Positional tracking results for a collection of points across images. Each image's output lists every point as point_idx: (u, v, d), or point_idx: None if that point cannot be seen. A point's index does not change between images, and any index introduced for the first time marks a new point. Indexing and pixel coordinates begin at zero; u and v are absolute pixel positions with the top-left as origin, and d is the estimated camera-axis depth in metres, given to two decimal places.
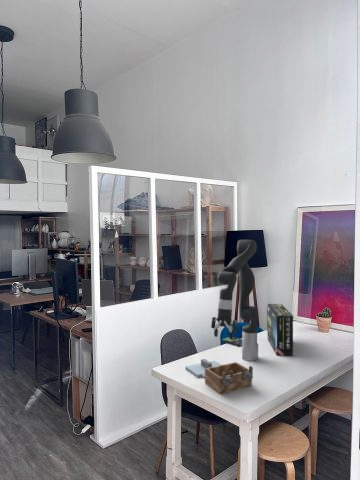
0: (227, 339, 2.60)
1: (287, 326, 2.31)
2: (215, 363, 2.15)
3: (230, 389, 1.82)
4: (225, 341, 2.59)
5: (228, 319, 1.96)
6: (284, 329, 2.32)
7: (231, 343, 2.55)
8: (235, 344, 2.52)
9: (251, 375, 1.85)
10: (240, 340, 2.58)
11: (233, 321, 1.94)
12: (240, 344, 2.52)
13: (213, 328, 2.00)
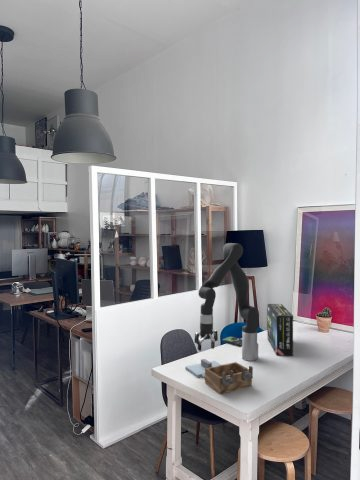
0: (227, 339, 2.60)
1: (287, 326, 2.31)
2: (215, 363, 2.15)
3: (230, 389, 1.82)
4: (225, 341, 2.58)
5: (211, 331, 2.09)
6: (283, 329, 2.32)
7: (231, 343, 2.55)
8: (235, 344, 2.52)
9: (251, 375, 1.85)
10: (240, 340, 2.58)
11: (216, 332, 2.10)
12: (240, 344, 2.52)
13: (198, 343, 2.05)
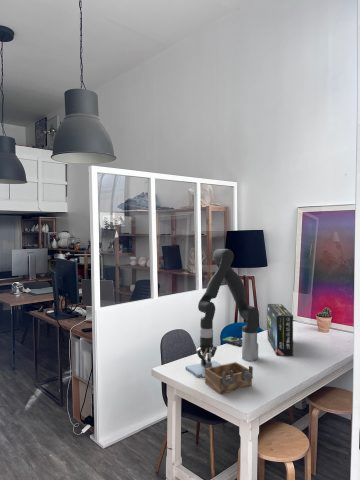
0: (227, 339, 2.60)
1: (287, 326, 2.31)
2: (215, 363, 2.15)
3: (230, 389, 1.82)
4: (225, 341, 2.58)
5: (212, 345, 2.09)
6: (283, 329, 2.32)
7: (231, 343, 2.55)
8: (235, 344, 2.52)
9: (251, 375, 1.85)
10: (240, 340, 2.58)
11: (215, 347, 2.10)
12: (240, 344, 2.52)
13: (202, 359, 2.07)
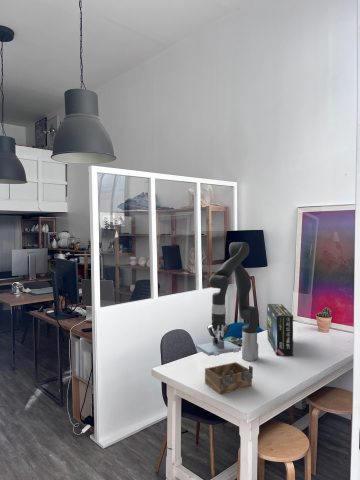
0: (227, 339, 2.60)
1: (287, 326, 2.31)
2: (227, 342, 2.03)
3: (230, 389, 1.82)
4: None
5: (224, 322, 1.97)
6: (284, 329, 2.32)
7: None
8: (236, 344, 2.52)
9: (251, 375, 1.85)
10: (240, 340, 2.58)
11: (228, 325, 1.98)
12: (241, 344, 2.52)
13: (214, 337, 1.95)
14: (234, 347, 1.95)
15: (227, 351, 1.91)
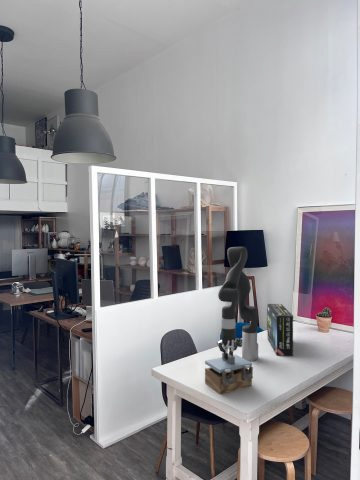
0: None
1: (287, 326, 2.31)
2: (237, 357, 1.96)
3: (230, 389, 1.82)
4: None
5: (234, 337, 1.89)
6: (284, 329, 2.32)
7: None
8: None
9: (251, 375, 1.85)
10: (240, 340, 2.58)
11: (238, 340, 1.91)
12: (241, 344, 2.52)
13: (224, 352, 1.87)
14: (245, 362, 1.88)
15: (238, 367, 1.84)
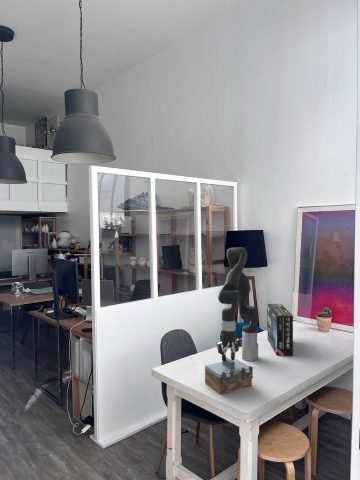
0: None
1: (287, 326, 2.31)
2: (237, 362, 1.96)
3: (230, 389, 1.82)
4: None
5: (234, 339, 1.89)
6: (283, 329, 2.32)
7: None
8: None
9: (251, 375, 1.85)
10: (240, 340, 2.58)
11: (238, 341, 1.91)
12: (241, 344, 2.52)
13: (222, 354, 1.87)
14: (245, 367, 1.89)
15: (238, 372, 1.84)
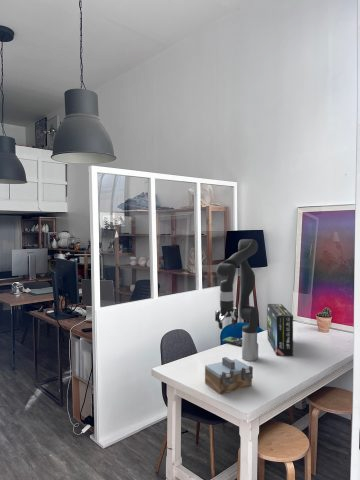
0: (227, 339, 2.59)
1: (287, 326, 2.31)
2: (237, 362, 1.96)
3: (230, 389, 1.82)
4: (226, 341, 2.58)
5: (232, 309, 2.02)
6: (283, 329, 2.32)
7: (232, 343, 2.54)
8: (236, 344, 2.52)
9: (251, 375, 1.85)
10: (240, 340, 2.58)
11: (236, 309, 2.04)
12: (241, 344, 2.52)
13: (219, 322, 1.99)
14: (245, 367, 1.89)
15: (238, 372, 1.84)
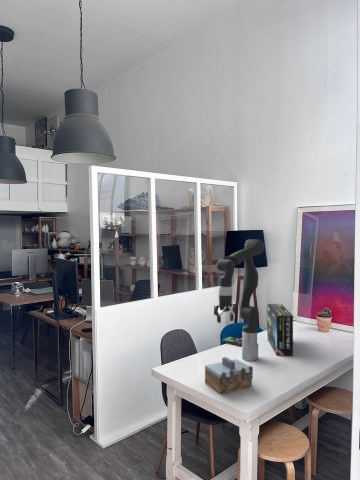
0: (227, 339, 2.59)
1: (287, 326, 2.31)
2: (237, 362, 1.96)
3: (230, 389, 1.82)
4: (226, 341, 2.57)
5: (230, 303, 2.09)
6: (283, 329, 2.32)
7: (232, 343, 2.54)
8: (237, 344, 2.52)
9: (251, 375, 1.85)
10: (240, 340, 2.58)
11: (234, 304, 2.10)
12: (241, 344, 2.52)
13: (217, 315, 2.05)
14: (245, 367, 1.89)
15: (238, 372, 1.84)
